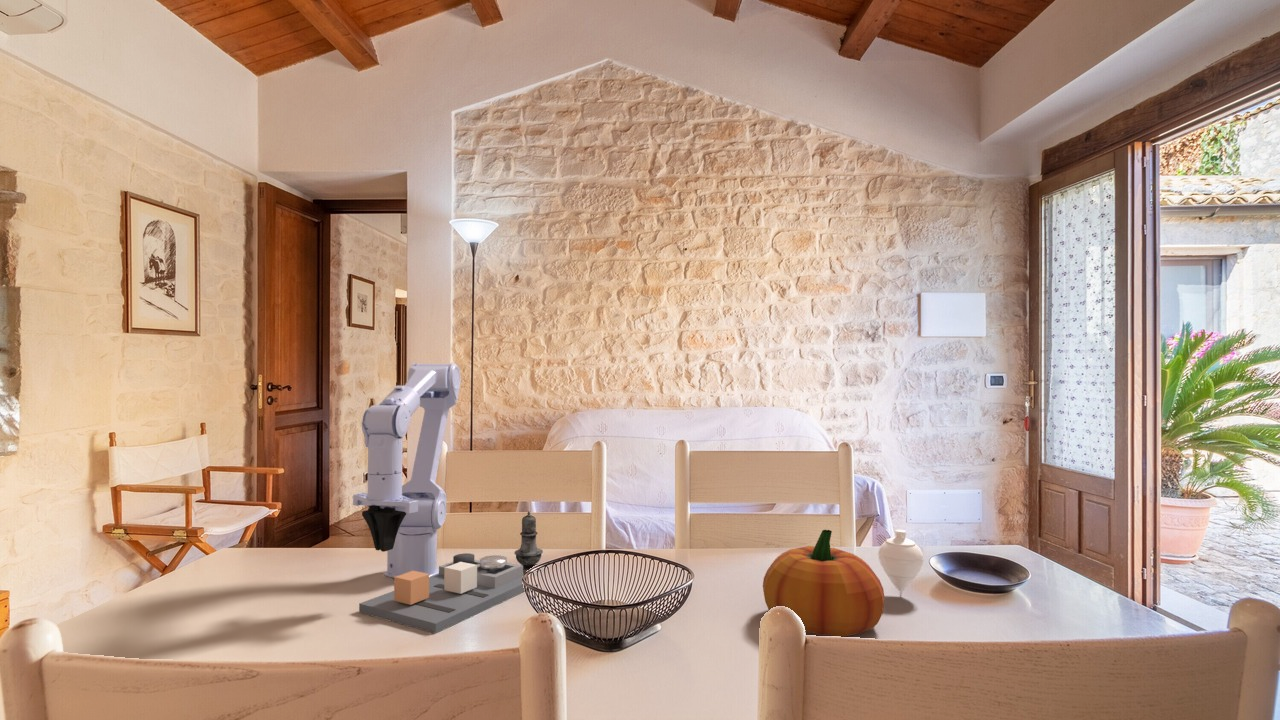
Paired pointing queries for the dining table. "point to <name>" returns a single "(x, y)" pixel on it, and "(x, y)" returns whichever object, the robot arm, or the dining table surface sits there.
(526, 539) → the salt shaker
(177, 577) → the dining table surface
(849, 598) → the pumpkin
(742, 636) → the dining table surface
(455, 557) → the button black
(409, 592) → the lever near
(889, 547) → the spinning top
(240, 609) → the dining table surface
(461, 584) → the lever middle
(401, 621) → the panel
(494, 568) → the button silver
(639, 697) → the dining table surface
